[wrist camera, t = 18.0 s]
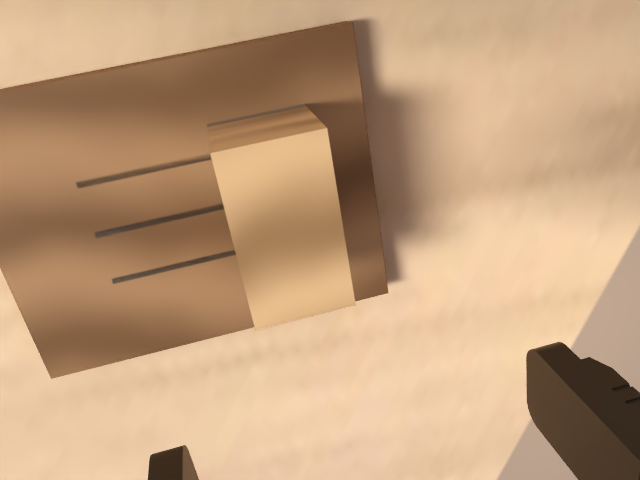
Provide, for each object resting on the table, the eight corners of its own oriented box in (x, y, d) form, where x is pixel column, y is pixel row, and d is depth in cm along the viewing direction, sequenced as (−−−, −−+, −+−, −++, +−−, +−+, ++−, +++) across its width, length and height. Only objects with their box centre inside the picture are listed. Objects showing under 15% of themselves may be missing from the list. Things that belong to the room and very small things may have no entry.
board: (-63, 101, 24) (-74, 106, 23) (345, 21, 27) (352, 22, 25) (56, 364, 30) (51, 378, 29) (381, 282, 33) (388, 292, 31)
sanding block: (206, 124, 26) (210, 153, 21) (304, 103, 26) (327, 127, 22) (245, 277, 29) (255, 330, 25) (330, 257, 30) (355, 305, 25)
